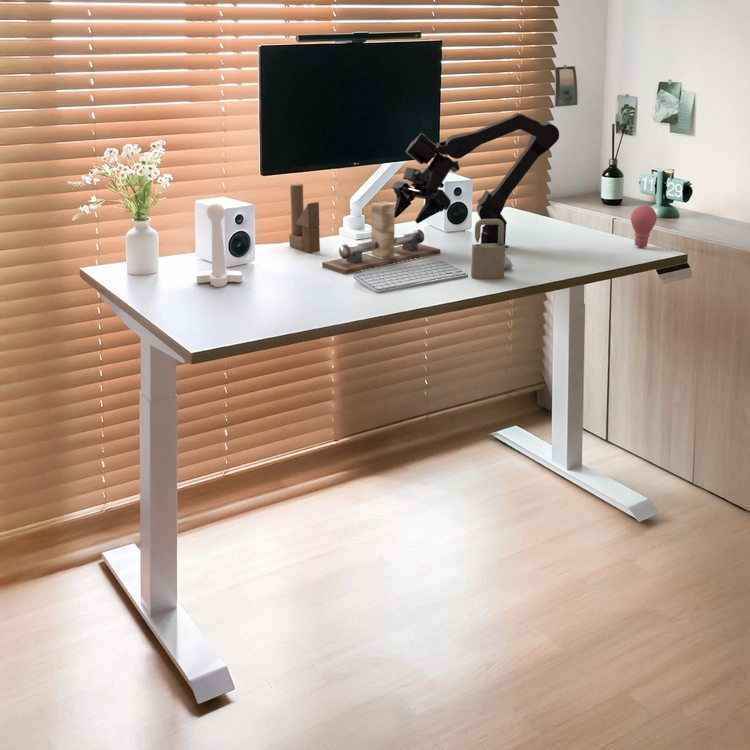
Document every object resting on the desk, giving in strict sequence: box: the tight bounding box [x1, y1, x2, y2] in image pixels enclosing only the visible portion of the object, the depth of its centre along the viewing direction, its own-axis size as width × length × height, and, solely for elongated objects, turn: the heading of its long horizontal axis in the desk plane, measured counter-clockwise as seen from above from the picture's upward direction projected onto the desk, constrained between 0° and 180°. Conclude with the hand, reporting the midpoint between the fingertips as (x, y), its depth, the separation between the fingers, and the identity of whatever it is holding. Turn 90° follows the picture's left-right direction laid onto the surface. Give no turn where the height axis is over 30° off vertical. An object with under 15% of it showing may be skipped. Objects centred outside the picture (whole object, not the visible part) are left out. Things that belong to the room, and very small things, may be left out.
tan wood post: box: [371, 200, 396, 257], centre depth 264 cm, size 5×4×14 cm
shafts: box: [338, 229, 425, 264], centre depth 266 cm, size 28×4×5 cm, turn 130°
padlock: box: [470, 219, 506, 280], centre depth 249 cm, size 4×8×15 cm, turn 94°
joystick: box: [196, 202, 243, 288], centre depth 242 cm, size 11×8×20 cm
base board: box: [321, 243, 441, 275], centre depth 267 cm, size 34×10×2 cm, turn 130°
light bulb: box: [630, 205, 658, 249], centre depth 278 cm, size 7×7×12 cm
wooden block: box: [288, 182, 321, 254], centre depth 276 cm, size 4×11×18 cm, turn 36°
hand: (405, 219), depth 269 cm, fingers open, 9 cm apart
